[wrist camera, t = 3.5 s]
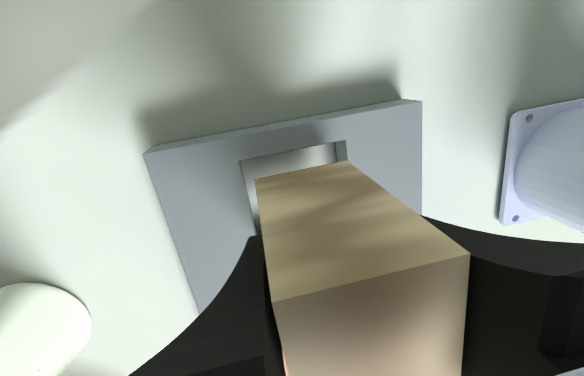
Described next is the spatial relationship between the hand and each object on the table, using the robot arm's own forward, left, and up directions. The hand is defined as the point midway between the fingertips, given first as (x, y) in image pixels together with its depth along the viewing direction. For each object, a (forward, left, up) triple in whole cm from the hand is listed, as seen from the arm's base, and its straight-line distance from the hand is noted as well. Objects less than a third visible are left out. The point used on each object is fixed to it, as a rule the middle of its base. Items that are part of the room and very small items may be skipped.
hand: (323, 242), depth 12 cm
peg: (0, 0, -3) cm, 3 cm away
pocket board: (0, +5, -6) cm, 8 cm away
